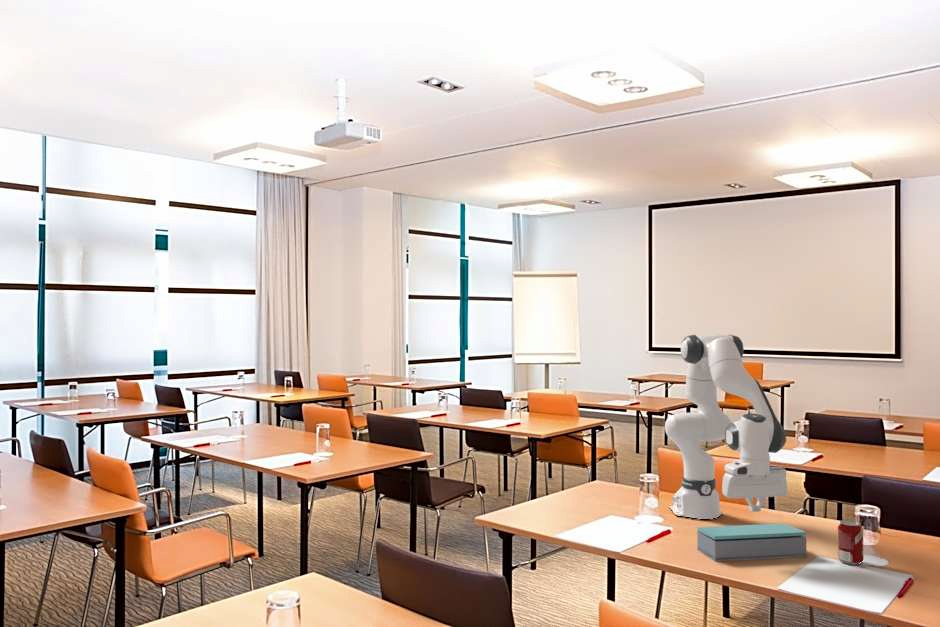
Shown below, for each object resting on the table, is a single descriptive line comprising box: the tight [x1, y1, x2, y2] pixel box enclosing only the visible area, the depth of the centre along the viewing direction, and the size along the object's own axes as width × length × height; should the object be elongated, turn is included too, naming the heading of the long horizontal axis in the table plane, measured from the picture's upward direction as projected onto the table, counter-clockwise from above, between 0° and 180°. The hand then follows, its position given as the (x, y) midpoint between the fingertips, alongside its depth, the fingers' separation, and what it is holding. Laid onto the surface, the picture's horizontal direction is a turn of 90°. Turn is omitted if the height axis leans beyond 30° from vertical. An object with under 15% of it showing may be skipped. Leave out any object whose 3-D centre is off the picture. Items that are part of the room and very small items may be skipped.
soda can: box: [837, 519, 865, 565], centre depth 222 cm, size 7×7×12 cm
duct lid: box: [697, 522, 807, 540], centre depth 231 cm, size 12×30×1 cm, turn 98°
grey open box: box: [696, 530, 808, 562], centre depth 231 cm, size 12×30×6 cm, turn 98°
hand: (755, 511), depth 229 cm, fingers closed
